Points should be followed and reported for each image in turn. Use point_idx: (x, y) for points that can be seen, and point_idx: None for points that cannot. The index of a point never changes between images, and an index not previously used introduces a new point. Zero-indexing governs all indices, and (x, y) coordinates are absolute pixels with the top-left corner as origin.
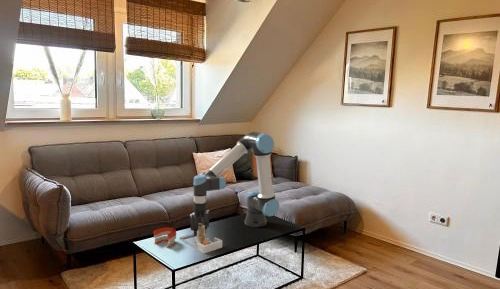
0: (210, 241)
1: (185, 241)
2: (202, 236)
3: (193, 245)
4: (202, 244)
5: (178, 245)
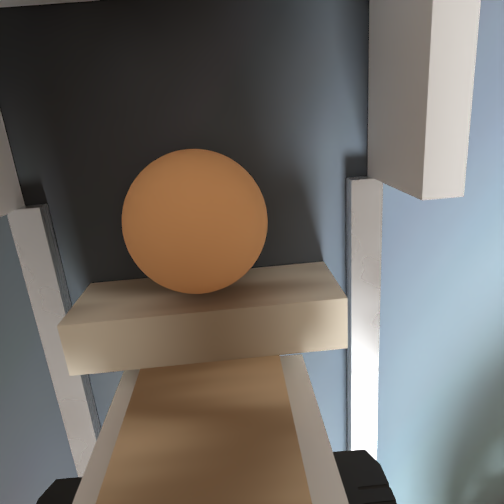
0: (40, 311)
1: None
2: (191, 405)
3: (370, 328)
4: None
5: (494, 453)
